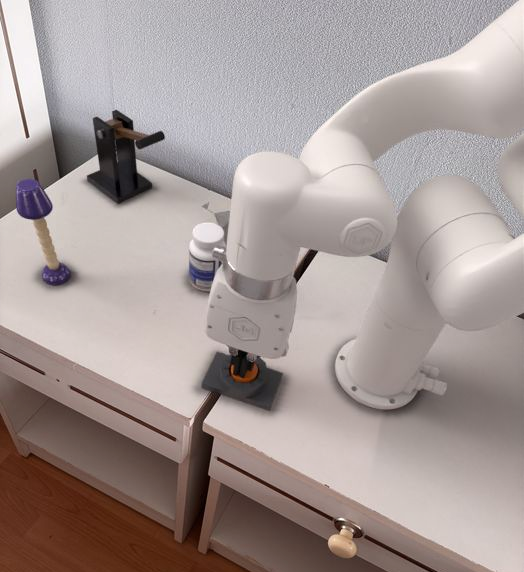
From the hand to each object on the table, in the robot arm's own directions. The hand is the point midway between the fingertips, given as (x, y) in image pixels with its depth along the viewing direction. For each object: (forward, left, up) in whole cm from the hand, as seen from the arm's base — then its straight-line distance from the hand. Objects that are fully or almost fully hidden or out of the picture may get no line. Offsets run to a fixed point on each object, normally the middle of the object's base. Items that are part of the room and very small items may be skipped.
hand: (241, 368), depth 69 cm
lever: (+31, -32, +8) cm, 45 cm away
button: (0, 0, -2) cm, 2 cm away
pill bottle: (+12, -17, -4) cm, 21 cm away
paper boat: (+13, -30, -4) cm, 33 cm away
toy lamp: (+34, -8, -4) cm, 35 cm away
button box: (0, 0, -4) cm, 4 cm away
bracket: (+36, -34, -4) cm, 50 cm away
